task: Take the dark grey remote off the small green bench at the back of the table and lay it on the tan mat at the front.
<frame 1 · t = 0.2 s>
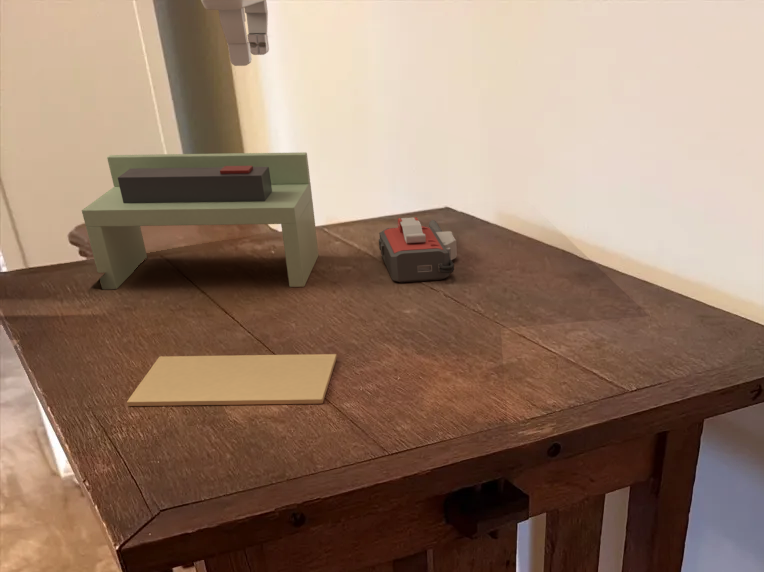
hand: (251, 59, 92), 20 cm above the table, tool pointing down, fingers open, 8 cm apart
remote: (199, 197, 98), point 8 cm above the table, touching green bench
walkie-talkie: (418, 260, 107), on the table
mat: (237, 381, 79), on the table
green bench: (215, 271, 104), on the table
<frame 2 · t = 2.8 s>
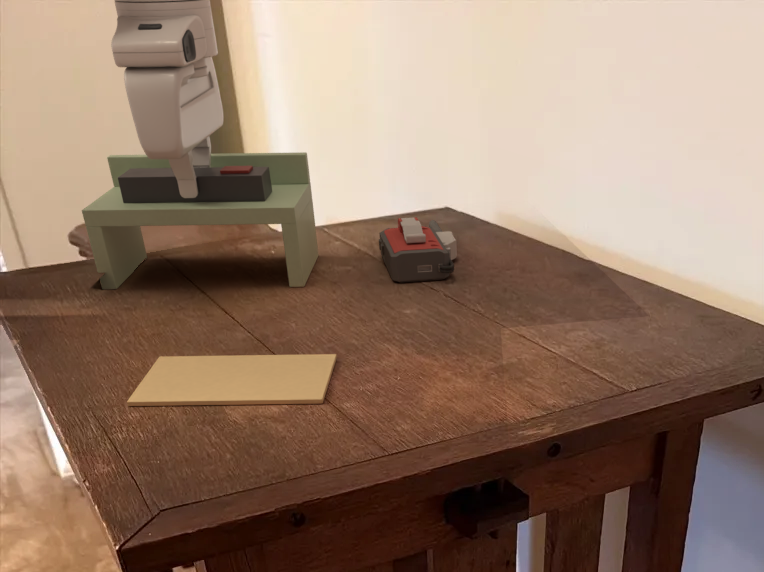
hand: (197, 190, 98), 9 cm above the table, tool pointing down, fingers closed on remote, 4 cm apart
remote: (199, 197, 98), point 8 cm above the table, touching gripper, green bench
everything else where it was.
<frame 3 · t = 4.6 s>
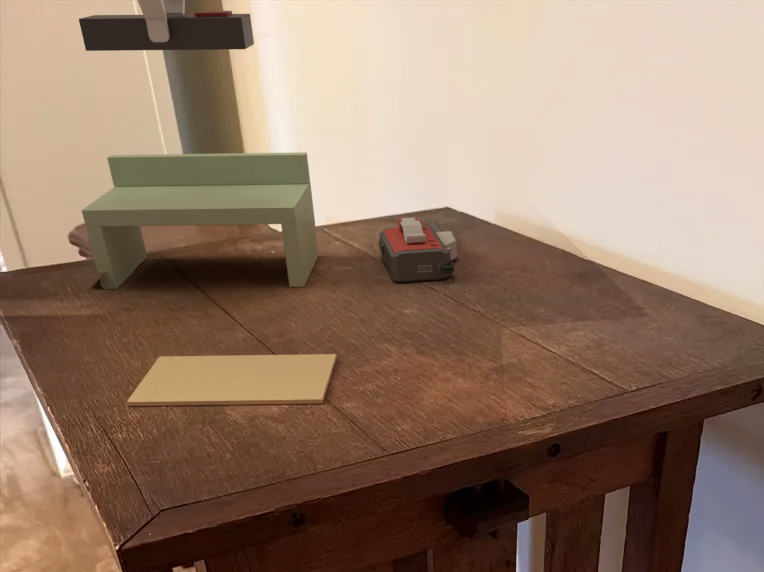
hand: (169, 38, 87), 23 cm above the table, tool pointing down, fingers closed on remote, 4 cm apart
remote: (171, 47, 87), point 22 cm above the table, touching gripper
everything else where it was.
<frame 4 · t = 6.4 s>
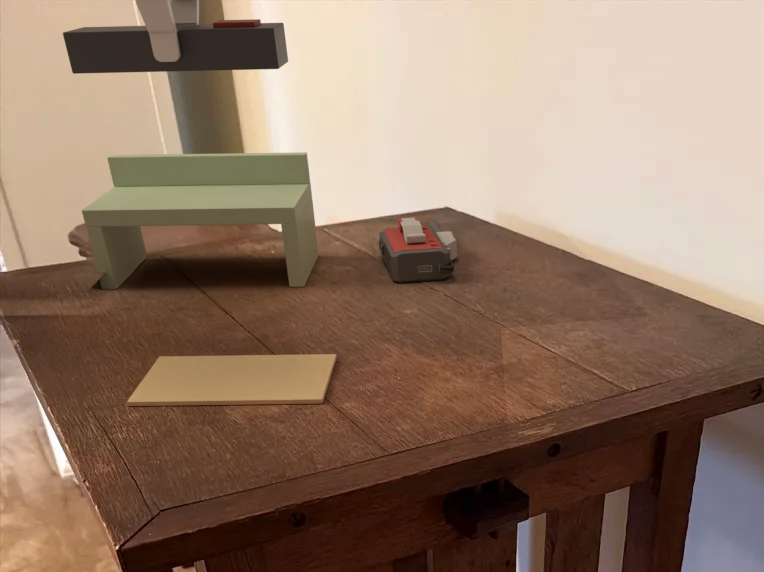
hand: (180, 56, 67), 23 cm above the table, tool pointing down, fingers closed on remote, 4 cm apart
remote: (183, 67, 68), point 23 cm above the table, touching gripper
everything else where it was.
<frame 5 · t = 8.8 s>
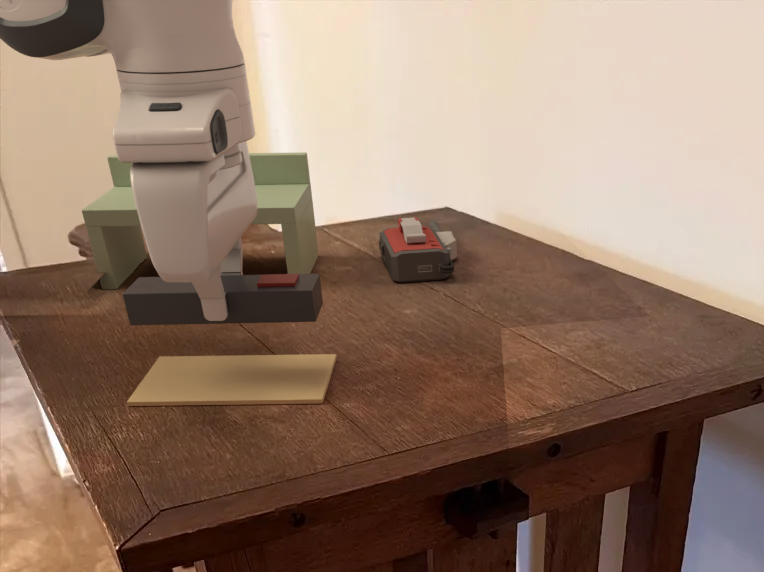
hand: (226, 306, 75), 6 cm above the table, tool pointing down, fingers closed on remote, 4 cm apart
remote: (228, 314, 75), point 6 cm above the table, touching gripper
everything else where it was.
when the fingers open (1 cm above the table, at t = 10.3 s): remote stays where it is, resting on mat.
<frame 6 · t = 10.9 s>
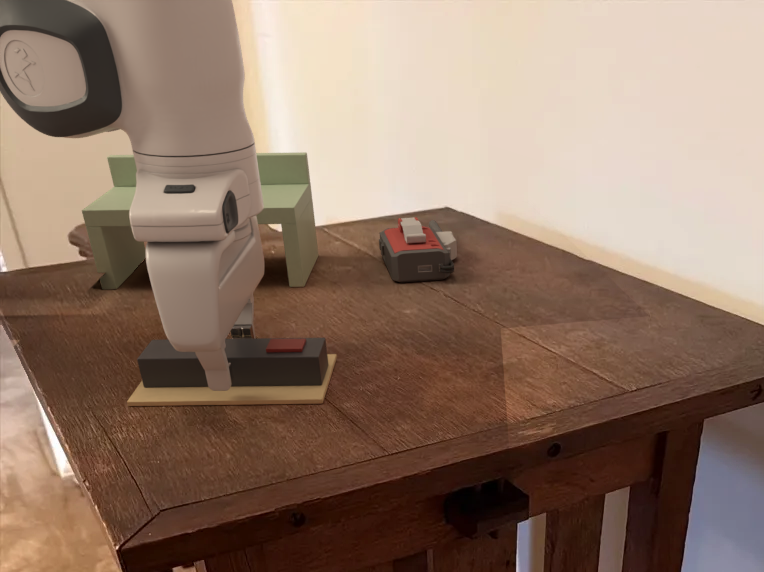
hand: (234, 365, 78), 1 cm above the table, tool pointing down, fingers open, 8 cm apart
remote: (238, 376, 78), resting on mat
everything else where it was.
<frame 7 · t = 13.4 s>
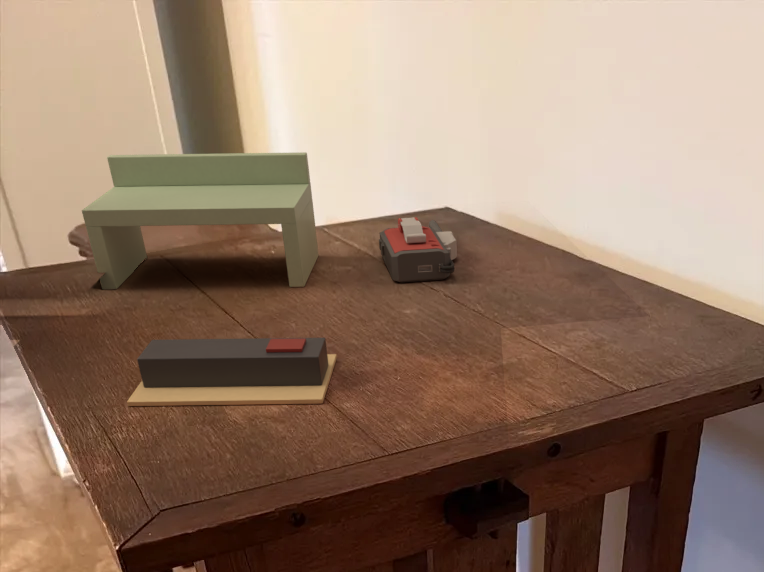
nothing on the table moved.
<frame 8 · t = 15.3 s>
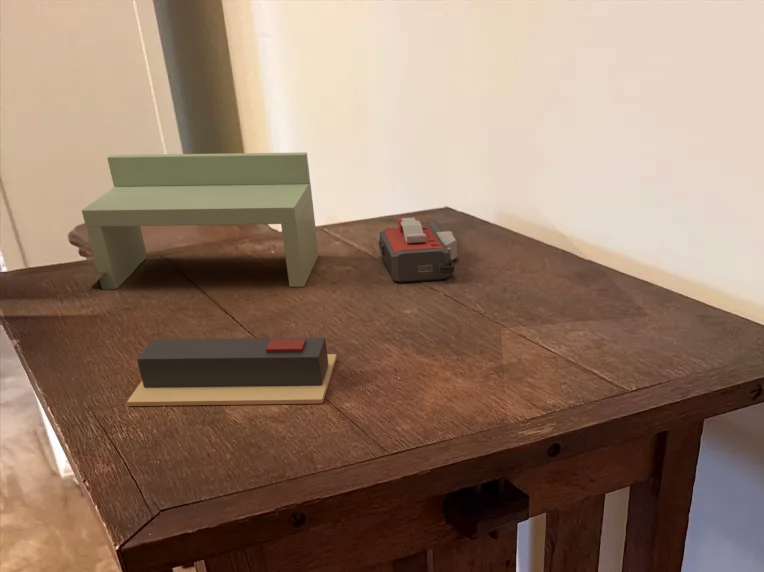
nothing on the table moved.
at the end: remote inside the target area on the mat (0.1 cm from its centre), point 0.4 cm above the mat's base; remote touching mat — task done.
